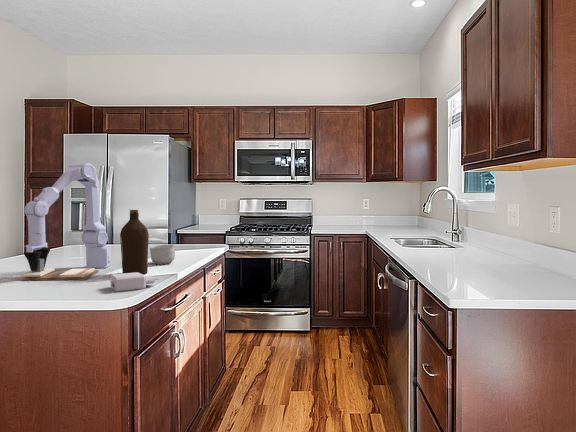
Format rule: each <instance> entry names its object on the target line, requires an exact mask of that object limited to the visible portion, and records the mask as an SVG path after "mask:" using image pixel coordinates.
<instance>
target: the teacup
mask: <svg viewBox="0 0 576 432" xmlns="http://www.w3.org/2000/svg"><path fill="white" fill-rule="evenodd" d="M175 246H176V245H175V244H158V245H152V246H150V247H149V253H150V259H151V261H152V262H153V263H154V264H156V265H168V264H171V263H172V262H173V261H174V260H175V258H176V252H175V251H176V250H175Z"/></svg>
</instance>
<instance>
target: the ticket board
mask: <svg viewBox="0 0 576 432" xmlns="http://www.w3.org/2000/svg"><path fill="white" fill-rule="evenodd" d="M67 270H68V269H66V270H64V269H63V270H61V269H60V270H54V271H52V272H50V273H47V274H45V275H43V276H41V277H22V281H23V282H28V281H29V282H33V281H35V282H36V281H38V282H39V281H40V282H41V280H42V282H43V280H45V281H83V280H84V281H87V280H88V279H90V278H92V277H94V276H95V275H97V274H98V273H99V269H95V271H93V272H91V273H89V274H88V275H86V276H84V277H59V274H62V273H63V272H65V271H67Z"/></svg>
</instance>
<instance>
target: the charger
mask: <svg viewBox="0 0 576 432" xmlns="http://www.w3.org/2000/svg"><path fill="white" fill-rule="evenodd" d="M157 280H160V278H159V277H154V276H152V275H146V276H145V274H143V275H142V274H140V273H138V272H135V273H124V274H123V273H115V274H110V288H111V289H112V290H113V291H115V292H118V291H119V292H125V291H126V290H128V291H135V289H138V290H143V289H146V288H147V285H150V284H154V283H155V281H157ZM119 292H118V293H119Z"/></svg>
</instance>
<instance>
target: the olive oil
mask: <svg viewBox="0 0 576 432" xmlns="http://www.w3.org/2000/svg"><path fill="white" fill-rule="evenodd" d="M139 217H140V216H139V209H130V210H129V220H128V221H127V222H126V224H124V225H123V226H122V228H121V229H120V234H119V241H120V251H121V252H120V253H121V269H122V270H121V271H122V272H121V274H124V273H135V272H138V273H140V274H142V275H146V274H148V268H149V267H148V263H149V261H148V260H149V258H148V257H149V230H148V228H147V227H146V225H145V224H143V222H141V220H140V219H139Z"/></svg>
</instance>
